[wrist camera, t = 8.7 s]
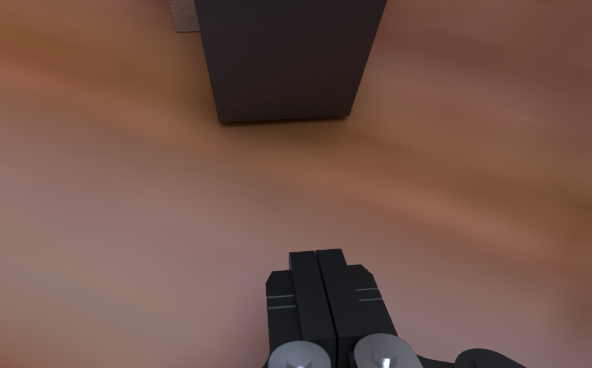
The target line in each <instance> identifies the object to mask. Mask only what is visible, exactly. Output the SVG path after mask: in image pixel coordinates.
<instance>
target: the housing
mask: <svg viewBox="0 0 592 368" xmlns="http://www.w3.org/2000/svg"><path fill="white" fill-rule="evenodd" d="M167 1H168V5H169V9H170V12H171V16H172V19H173V23H174V26H175V30H176V32H193V31H200V28H199V23H198V18H197V13H196V8H195V4H194V0H167Z"/></svg>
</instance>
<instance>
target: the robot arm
mask: <svg viewBox="0 0 592 368" xmlns="http://www.w3.org/2000/svg"><path fill="white" fill-rule="evenodd" d="M266 297H267V313H268V329H269V344H270V354H269V358H268V360H267V362H266V363H265V365H264V366H263V367H262V368H526V367H524V366H522V365H520V364H519V363H517V362H515V361H513V360H511V359H509V358H507V357H506V356H504V355H502V354H500V353H497V352H495V351H492V350H488V349H481V348H479V349H469V350H466V351H464V352H462V353H461V354H459V355H458V357H457V358H456V360H455V363H449V362H443V361H437V360H431V359H427V358H424V357H421V356H419V355H417V354H415V352H414V350H413V349H412V347H411V346H410V345H409V344H408V343H407V342H406V341H404V340H403V339H401V338H399V337H398V335H397V332H396V330H395V328H394V325H393V323H392V320H391V318H390V316H389V313H388V311H387V308H386V306H385V304H384V301H383V300H382V296H381V294H380V292H379V289H378V287H377V284H376V282H375V280H374V277H373V275H372V274H371V273H370V272H369V271H368V270H367V269H365V268H364V267H363V266H362V265H361V264H360V265H347V264H346V261H345V258H344V255H343V252H342V250H341V249H328V250H316V251H315V252H314V251H303V252H289V270H284V271H272V273H271V275H270V276H269V278H268V280H267V282H266Z"/></svg>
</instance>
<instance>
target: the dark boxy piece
mask: <svg viewBox="0 0 592 368" xmlns="http://www.w3.org/2000/svg"><path fill="white" fill-rule="evenodd" d="M386 2H387V0H194V4H195V8H196V13H197V18H198V23H199V28H200V33H201V37H202V42H203V47H204V52H205V57H206V62H207V66H208V71H209V76H210V81H211V86H212V91H213V95H214V100H215V105H216V110H217V115H218V120H219V123H220V122H238V121H256V120H275V119H293V118H312V117H330V116H348V115H349V114H350V111H351V108H352V105H353V102H354V99H355V96H356V93H357V90H358V87H359V84H360V81H361V78H362V75H363V72H364V69H365V66H366V63H367V60H368V57H369V54H370V51H371V48H372V45H373V42H374V39H375V36H376V32H377V29H378V26H379V23H380V20H381V17H382V14H383V11H384V8H385V5H386Z"/></svg>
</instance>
